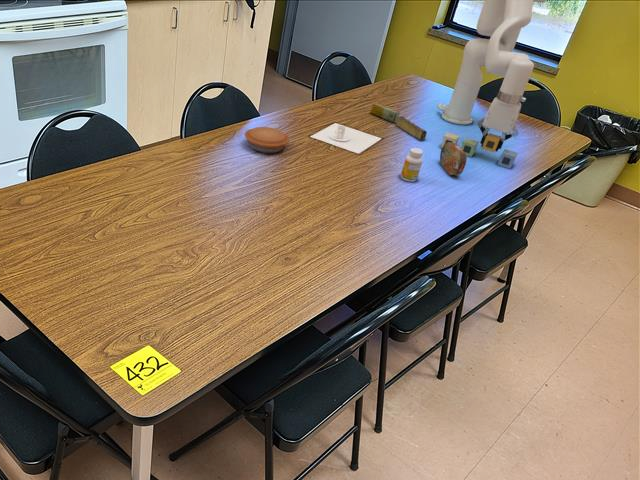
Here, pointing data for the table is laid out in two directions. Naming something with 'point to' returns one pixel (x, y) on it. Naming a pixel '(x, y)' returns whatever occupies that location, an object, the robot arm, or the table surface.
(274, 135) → the pie
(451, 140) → the cream block
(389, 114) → the medication box
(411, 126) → the decorative block
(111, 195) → the table surface
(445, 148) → the tin
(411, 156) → the supplement bottle
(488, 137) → the mustard block
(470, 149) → the sage block
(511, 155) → the blue-grey block
